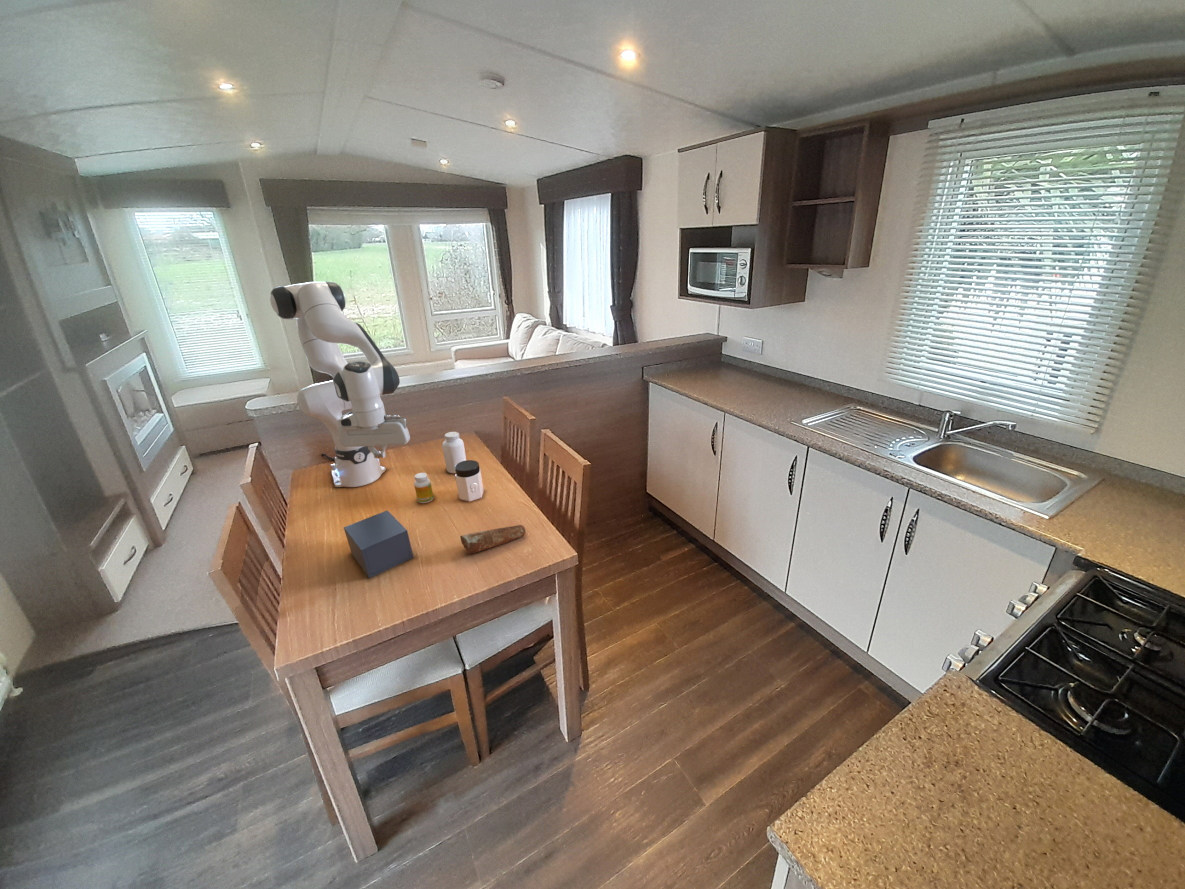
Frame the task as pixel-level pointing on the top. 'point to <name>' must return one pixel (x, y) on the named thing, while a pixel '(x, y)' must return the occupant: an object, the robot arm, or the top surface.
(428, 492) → the supplement bottle
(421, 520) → the top surface
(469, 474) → the jar
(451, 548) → the top surface
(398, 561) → the dark grey box
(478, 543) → the rusty brown tapered cylinder
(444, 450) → the pill bottle
